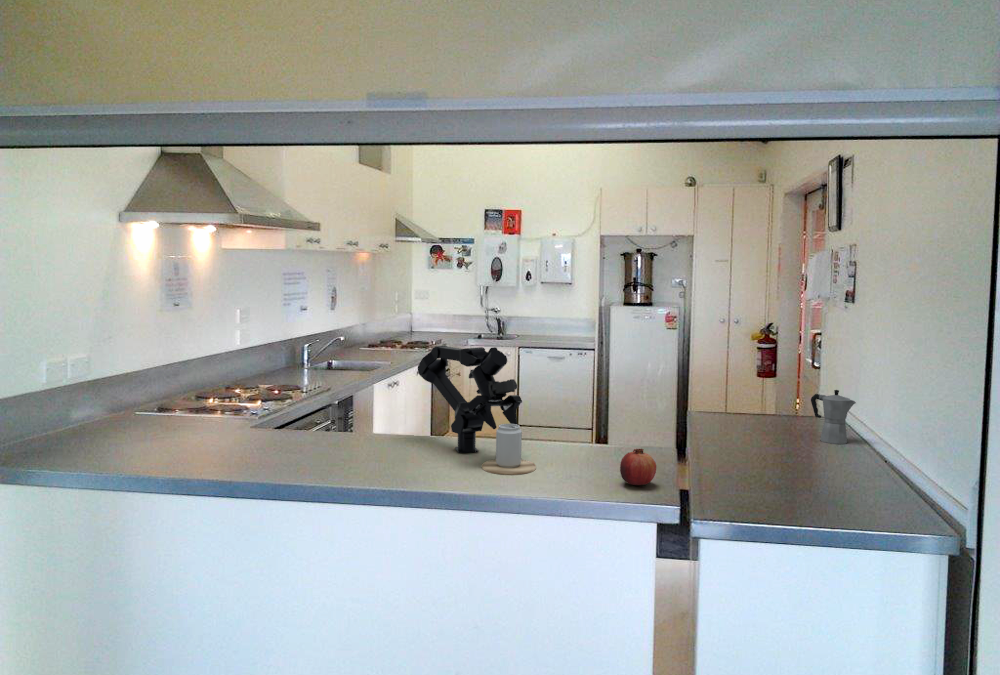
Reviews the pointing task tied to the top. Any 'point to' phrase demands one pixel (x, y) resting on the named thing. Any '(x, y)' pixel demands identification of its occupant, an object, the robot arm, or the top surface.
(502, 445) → the can
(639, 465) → the fruit
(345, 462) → the top surface
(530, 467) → the trivet
